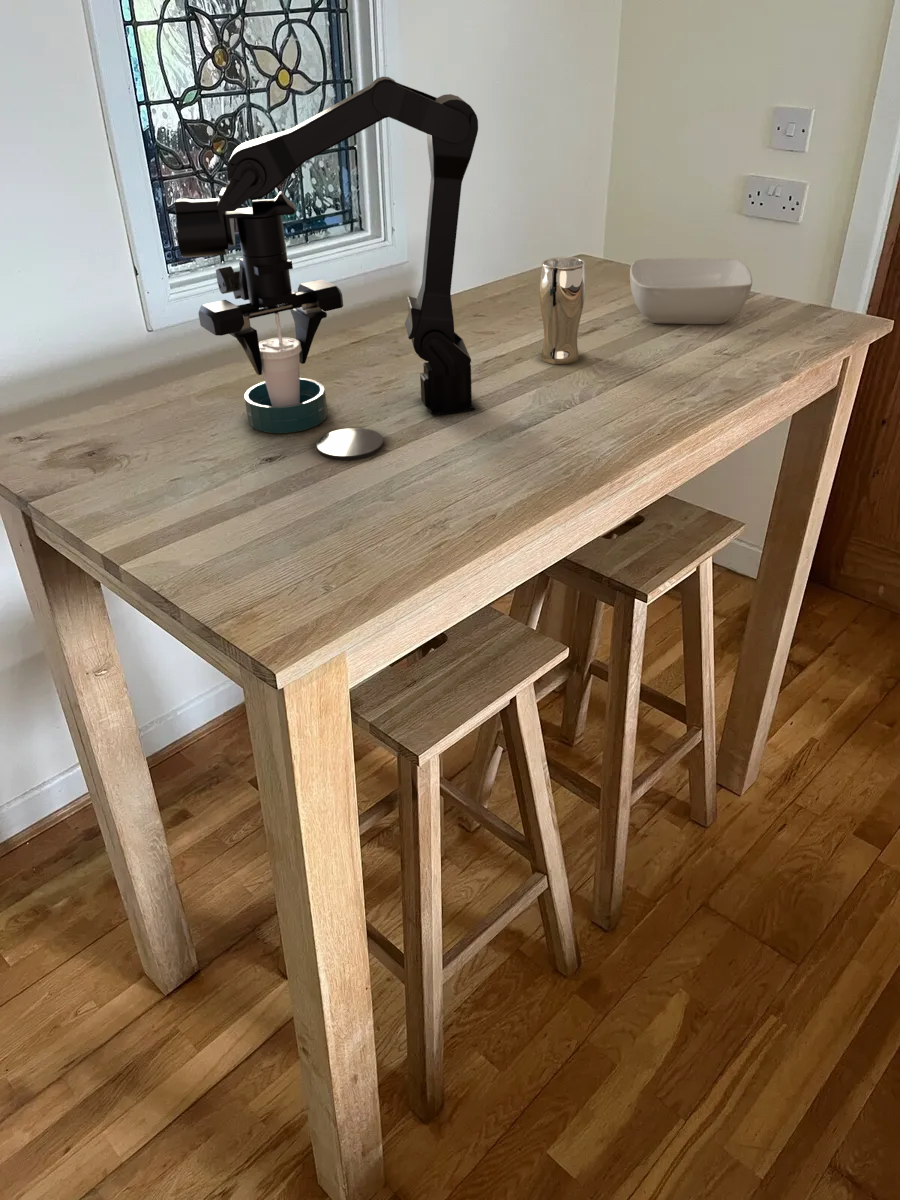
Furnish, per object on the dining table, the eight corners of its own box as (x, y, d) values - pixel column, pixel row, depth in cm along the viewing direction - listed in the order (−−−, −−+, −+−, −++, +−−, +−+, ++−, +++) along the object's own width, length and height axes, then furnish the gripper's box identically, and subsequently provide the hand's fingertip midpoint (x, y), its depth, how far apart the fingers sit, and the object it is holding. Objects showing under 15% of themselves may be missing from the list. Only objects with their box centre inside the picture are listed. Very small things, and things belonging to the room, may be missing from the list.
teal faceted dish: (321, 399, 136) (318, 373, 134) (332, 428, 127) (329, 401, 125) (246, 409, 134) (241, 383, 132) (252, 439, 125) (247, 412, 123)
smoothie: (300, 421, 127) (286, 321, 119) (257, 419, 128) (240, 319, 120) (315, 403, 132) (303, 306, 124) (273, 401, 133) (258, 305, 125)
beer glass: (532, 363, 146) (534, 266, 137) (545, 348, 151) (548, 255, 143) (575, 367, 144) (579, 269, 135) (586, 353, 149) (591, 257, 140)
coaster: (376, 428, 127) (376, 424, 127) (389, 455, 120) (389, 450, 120) (312, 437, 125) (311, 432, 125) (321, 464, 118) (321, 460, 118)
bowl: (626, 296, 174) (629, 254, 170) (736, 296, 171) (742, 254, 167) (628, 331, 157) (631, 286, 153) (751, 332, 154) (758, 286, 150)
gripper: (300, 229, 128) (313, 339, 136) (172, 252, 119) (195, 368, 128) (339, 243, 120) (350, 359, 129) (205, 269, 112) (227, 391, 120)
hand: (281, 368), depth 127 cm, fingers closed on smoothie, 6 cm apart
